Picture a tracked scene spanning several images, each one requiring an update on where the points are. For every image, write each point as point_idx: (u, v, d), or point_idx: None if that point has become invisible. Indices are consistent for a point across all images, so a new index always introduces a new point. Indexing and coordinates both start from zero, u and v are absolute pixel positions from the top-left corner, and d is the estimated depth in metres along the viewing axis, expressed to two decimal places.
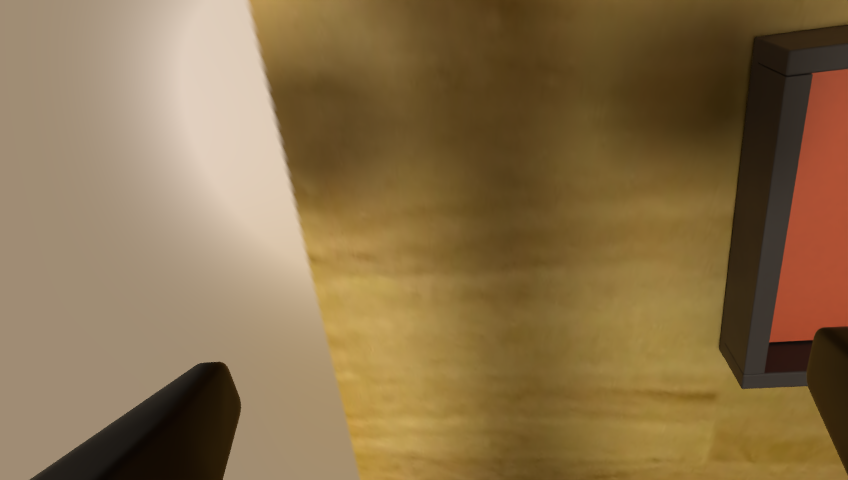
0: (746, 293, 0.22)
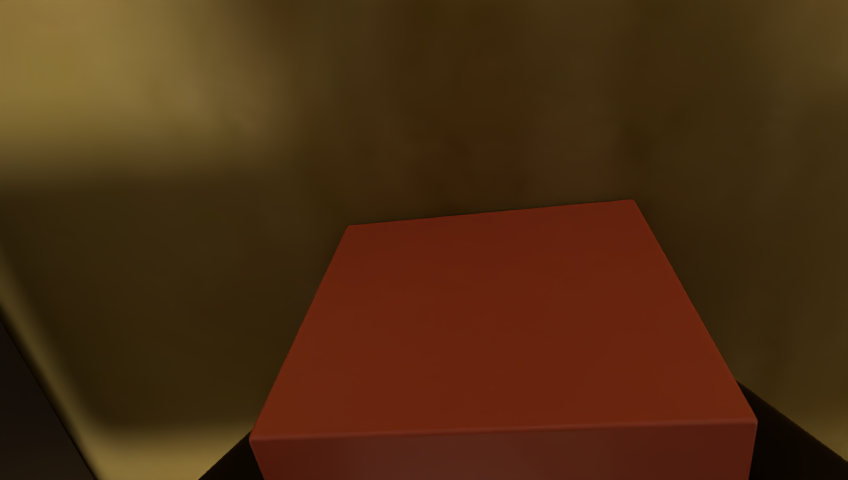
0: None
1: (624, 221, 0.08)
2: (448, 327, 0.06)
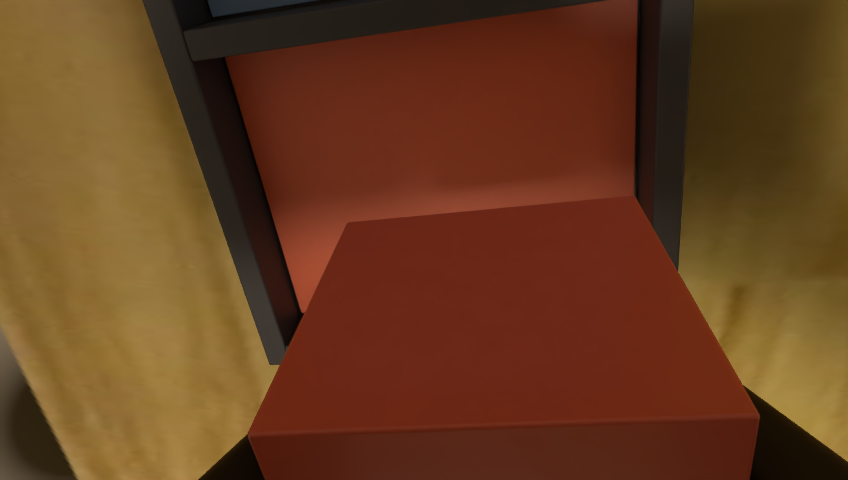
0: None
1: (625, 217, 0.08)
2: (449, 323, 0.06)
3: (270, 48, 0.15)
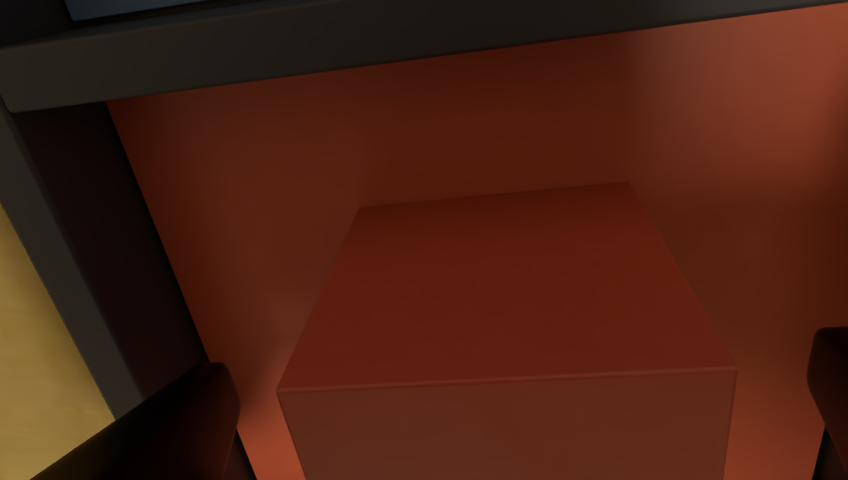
0: None
1: (620, 201, 0.08)
2: (456, 294, 0.07)
3: (165, 90, 0.07)
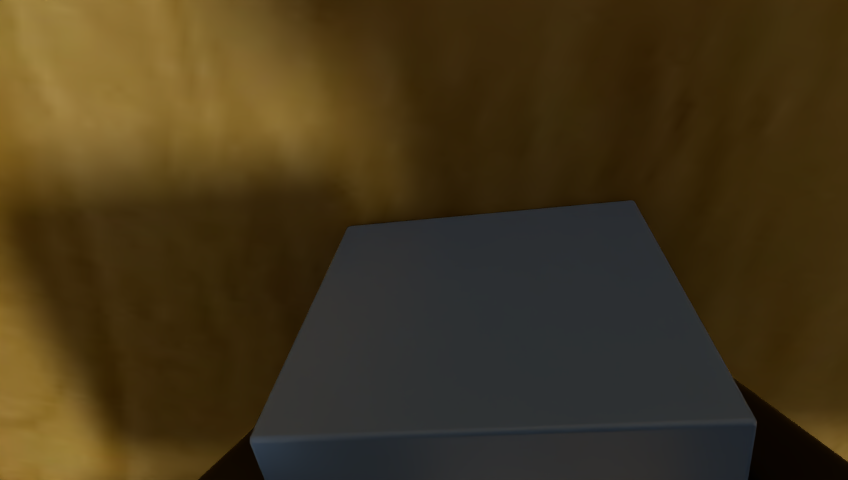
0: None
1: None
2: None
3: None
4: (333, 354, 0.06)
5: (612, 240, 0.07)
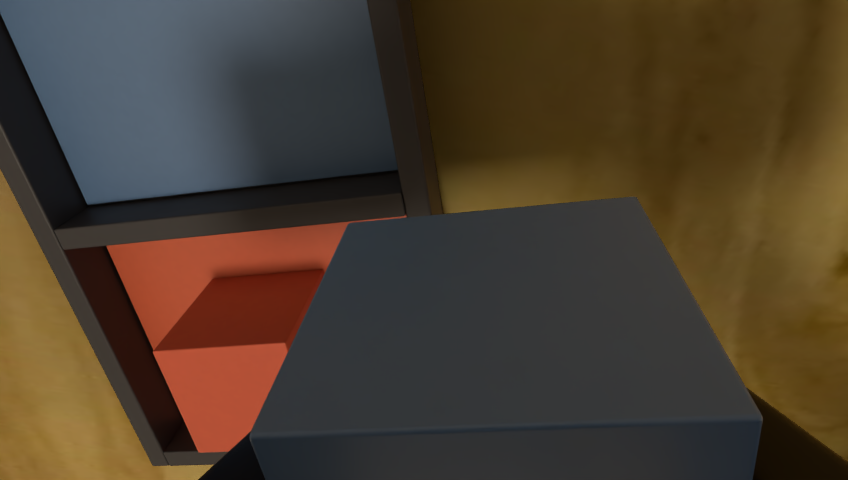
0: None
1: (309, 279, 0.20)
2: (224, 319, 0.19)
3: (121, 243, 0.19)
4: (334, 350, 0.06)
5: (614, 236, 0.07)
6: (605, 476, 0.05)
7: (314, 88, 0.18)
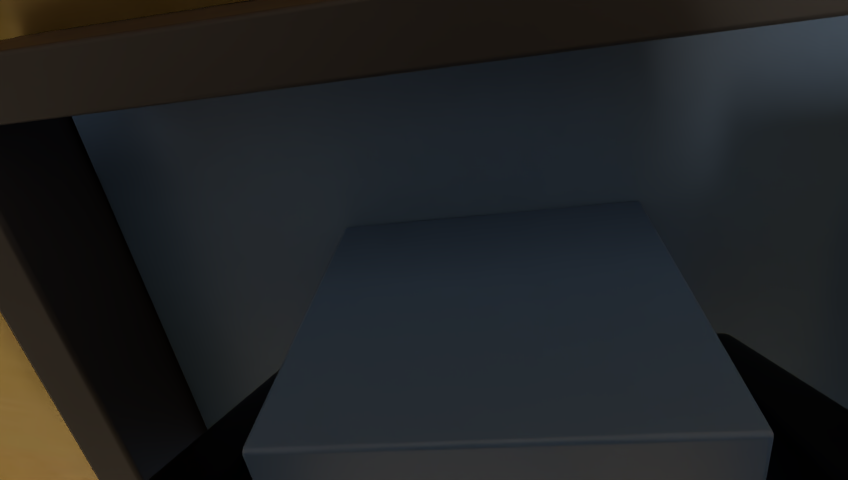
0: None
1: None
2: None
3: None
4: (330, 361, 0.06)
5: (618, 242, 0.07)
6: None
7: None
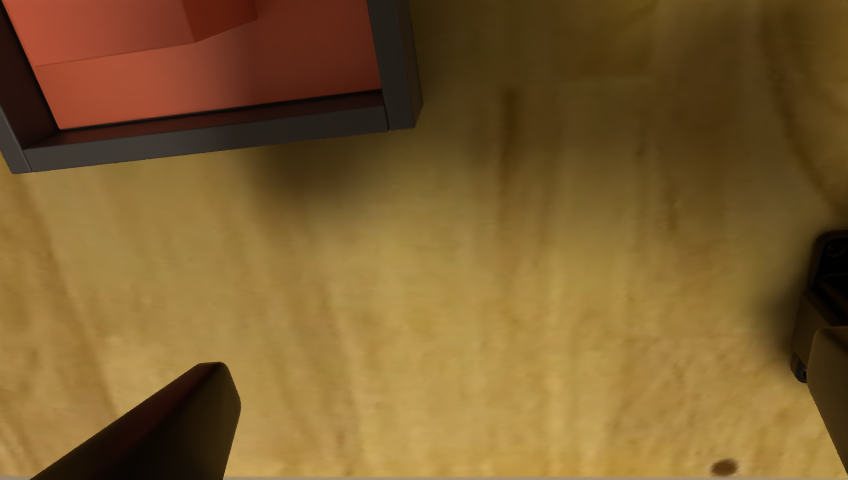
0: None
1: None
2: None
3: None
4: None
5: None
6: None
7: None
